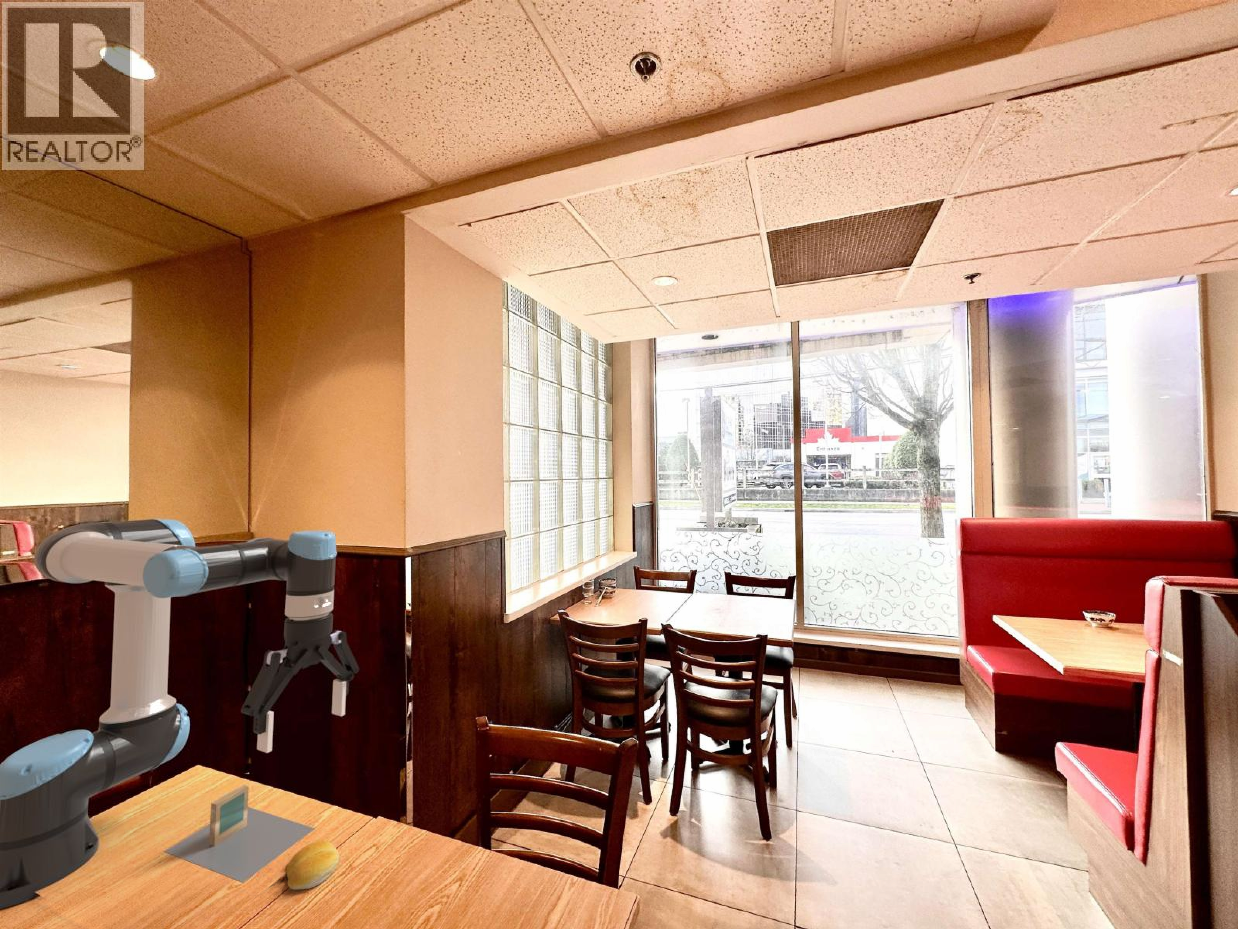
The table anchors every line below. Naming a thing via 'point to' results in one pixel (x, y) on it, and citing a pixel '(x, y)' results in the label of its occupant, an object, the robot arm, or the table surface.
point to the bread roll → (312, 865)
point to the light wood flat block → (228, 815)
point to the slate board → (242, 845)
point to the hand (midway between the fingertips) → (304, 731)
